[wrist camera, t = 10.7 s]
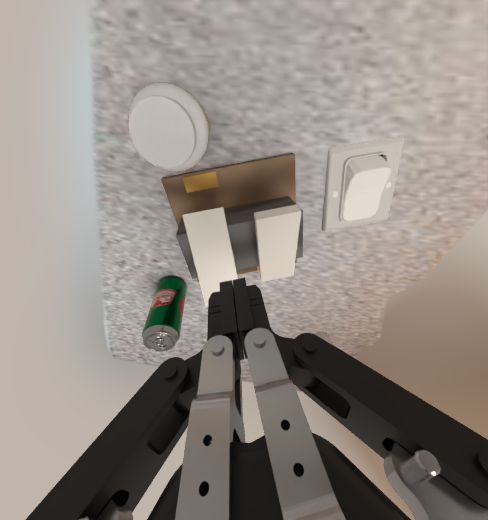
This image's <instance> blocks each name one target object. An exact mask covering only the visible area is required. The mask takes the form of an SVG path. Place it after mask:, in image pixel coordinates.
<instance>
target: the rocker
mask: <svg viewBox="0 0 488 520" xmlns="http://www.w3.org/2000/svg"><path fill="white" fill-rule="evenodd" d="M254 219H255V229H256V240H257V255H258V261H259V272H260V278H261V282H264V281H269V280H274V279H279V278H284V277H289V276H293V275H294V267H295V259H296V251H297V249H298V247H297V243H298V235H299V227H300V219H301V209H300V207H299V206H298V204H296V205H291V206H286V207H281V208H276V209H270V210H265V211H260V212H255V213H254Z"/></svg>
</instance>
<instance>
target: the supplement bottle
mask: <svg viewBox="0 0 488 520" xmlns="http://www.w3.org/2000/svg"><path fill="white" fill-rule="evenodd" d="M128 127H129V134H130V138H131V140H132V143H133V145H134V147H135V148H136V150H137V151H138V153H139V154H140V155H141V156H142V157H143V158H144V159H145V160H146V161H148V162H149V163H151V164H152V165H155V166H156V167H158V168H160V169H163V170H166V171H172V172H180V171H184V170H188V169H190V168H192V167H193V166H195V165H196V164H197V163H198V162H199V161H200V160H201V159H202V157H203V155H204V154H205V151H206V149H207V145H208V139H209V123H208V119H207V116H206V113H205V111H204V109H203V108H202V106H201V105H200V104H199V103H198V101H197V100H196V99H194V98H193V97H192V96H191V95H190V94H189V93H188V92H186V91H185V90H183V89H182V88H180V87H178V86H176V85H173V84H170V83H153V84H150V85H148V86H146V87H144V88H143V89H141V90H140V91H139V92H138V93H137V94H136V96H135V97H134V99H133V100H132V103H131V105H130V108H129V115H128Z"/></svg>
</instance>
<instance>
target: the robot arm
mask: <svg viewBox="0 0 488 520" xmlns="http://www.w3.org/2000/svg"><path fill="white" fill-rule="evenodd" d="M243 350H244V353H243ZM244 354H245V358H246V359H247V358H248V361H249V366H250V370H251V375H252V379H253V384H254V388H255V393H256V398H257V402H258V407H259V411H260V415H261V420H262V424H263V429H264V434H265V435H264V436H262V437H261V438H259V439H257V440H255V441H253V442H252V443H245V431H244V424H243V412H242V381H241V365H240V360H242V359H244ZM294 385H296V386H297V387H298V388H299V389H300V390H301V391H303V392H304V393H305V394H306V395H307V396H309V397H310V398H311V399H312V400H313V401H315V402H316V403H317V404H318V405H320V406H321V407H322V408H323V409H325V410H326V411H327V412H328V413H329V414H330V415H332V416H333V417H334V418H335V419H337V420H338V421H339V422H340V423H341V424H342V425H344V426H345V427H346V428H347V429H348V430H350V431H351V432H352V433H354V435H356V436H357V437H358V438H359V439H361V440H362V441H363V442H364V443H365V444H367V445H368V446H369V447H370V448H371V449H373V450H374V451H375V452H376V453H377V454H379V455H380V456H381V457H382V458H384V469H385V473H386V477H387V479H388V481H389V483H390V485H391V486H392V488H393V489H394V490H395V492H396V493H397V494H398V495H399V496H400V497H401V498H402V499H403V500H404V502H405V503H406V504H407V505H408V507H409V509H410V510H411V512H412V514H413V516H414V518H415V520H488V440H487V439H486V438H484V437H482V436H481V435H479V434H477V433H476V432H474V431H473V430H471V429H469V428H468V427H466V426H464V425H463V424H461V423H459V422H458V421H456V420H454V419H453V418H451V417H450V416H448V415H446V414H444V413H443V412H441V411H440V410H438V409H437V408H435V407H433V406H431V405H429V404H428V403H426V402H425V401H423V400H422V399H420V398H418V397H417V396H415V395H414V394H412V393H410V392H409V391H407V390H405V389H404V388H402V387H400V386H399V385H397V384H396V383H394V382H392V381H391V380H389V379H387V378H386V377H384V376H382V375H381V374H379V373H378V372H376V371H374V370H373V369H371V368H369V367H368V366H366V365H364V364H363V363H361V362H360V361H358V360H356V359H355V358H353V357H351V356H350V355H348V354H346V353H345V352H343V351H342V350H340V349H338V348H337V347H335V346H333V345H332V344H330V343H328V342H327V341H325V340H324V339H322V338H320V337H319V336H317V335H315V334H311V333H304V334H301V335H299V336H297V337H296V338H295V339H292V338H284V337H281V336H278V335H277V334H275V333H274V332H273V331H272V329H271V328H270V324H269V321H268V317H267V313H266V309H265V306H264V302H263V298H262V294H261V290H260V289H259V288H258V287H257V286H256V285H251V286H246V281H245V278H240V279H235V280H233V282H232V280H229V281H224V282H220V291H219V292H213V293H212V294H211V296H210V298H209V300H208V338H207V342H206V343H205V345H204V347H203V349H202V350H201V351H200V352H199V353H198V354H196V355H194V356H192V357H190V358H189V359H187V360H185V361H184V360H183V359H181V358H178V357H174V358H170V359H168V360H166V361H165V362H163V363H162V364H161V365H160V366H159V367H158V369H157V370H156V371H155V372H154V373H153V374H152V376H151V377H150V378H149V379H148V380H147V381H146V382H145V383H144V385H143V386H142V387H141V388H140V389H139V390H138V392H137V393H136V394H135V395H134V396H133V397H132V398H131V400H130V401H129V402H128V403H127V404H126V406H124V408H123V409H122V410H121V411H120V412H119V413H118V415H117V416H116V417H115V418H114V419H113V420H112V421H111V422H110V424H109V425H108V426H107V427H106V428H105V429H104V431H103V432H102V433H101V434H100V435H99V436H98V437H97V439H96V440H95V441H94V442H93V443H92V444H91V445H90V446H89V448H88V449H87V450H86V451H85V452H84V453H83V455H82V456H81V457H80V458H79V459H78V460H77V461H76V463H75V464H74V465H73V466H72V467H71V468H70V469H69V471H68V472H67V473H66V474H65V475H64V476H63V477H62V479H61V480H60V481H59V482H58V483H57V484H56V485H55V487H54V488H53V489H52V490H51V491H50V492H49V493H48V495H47V496H46V497H45V498H44V499H43V500H42V502H41V503H40V504H39V505H38V506H37V507H36V508H35V510H34V511H33V512H32V513H31V514H30V515H29V516H28V518H27V519H26V520H133V515H132V512H133V510H134V509H135V507H136V506H137V504H138V503H139V501H140V500H141V498H142V496H143V495H144V493H145V492H146V490H147V489H148V487H149V485H150V484H151V482H152V481H153V479H154V478H155V476H156V475H157V473H158V471H159V470H160V468H161V467H162V465H163V464H164V462H165V461H166V459H167V458H168V456H169V454H170V453H171V451H172V450H173V448H174V447H175V445H176V443H177V442H178V441H179V439H180V437H181V436H182V434H183V433H184V431H185V430H186V428H187V426H188V430H187V437H186V444H185V451H184V458H183V464H182V465H181V466H180V467H179V469H178V470H177V471H176V472H175V473H174V475H173V476H172V477H171V479H170V481H169V482H168V484H167V486H166V488H165V489H164V491H163V493H162V494H161V496H160V498H159V500H158V501H157V503H156V505H155V507H154V509H153V510H152V512H151V514H150V516H149V517H148V519H147V520H411V519H410V518H409V517H408V516H406V515H405V513H403V512H402V511H401V510H400V509H399V508H398V507H397V506H396V505H395V504H394V503H393V502H392V501H391V500H390V499H389V498H388V497H387V496H386V495H385V494H384V493H383V492H382V491H381V490H380V489H379V488H377V486H376V485H374V483H373V482H371V481H370V480H369V479H368V478H367V477H366V476H365V475H364V474H363V473H362V472H361V471H360V470H359V469H358V468H357V467H356V466H355V465H354V464H353V463H352V462H351V461H350V460H349V459H348V458H347V457H346V456H345V455H344V454H342V452H340V451H339V450H338V449H337V448H336V447H335V446H334V445H333V444H331V443H330V442H329V441H327V440H326V439H324V438H322V437H321V436H318V435H316V434H313V433H312V432H311V430H310V427H309V424H308V422H307V419H306V416H305V414H304V411H303V408H302V405H301V403H300V400H299V397H298V395H297V392H296V389H295V387H294Z"/></svg>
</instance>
